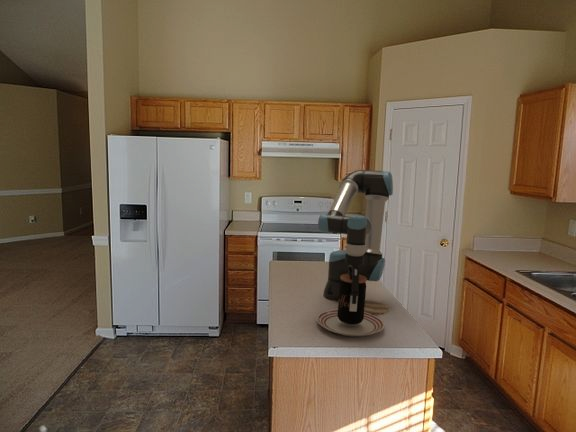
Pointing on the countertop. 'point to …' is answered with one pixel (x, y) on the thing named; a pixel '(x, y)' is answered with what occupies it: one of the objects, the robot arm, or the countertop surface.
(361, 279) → the coffee jar
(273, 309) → the countertop surface
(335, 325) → the dinner plate
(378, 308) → the cork trivet
